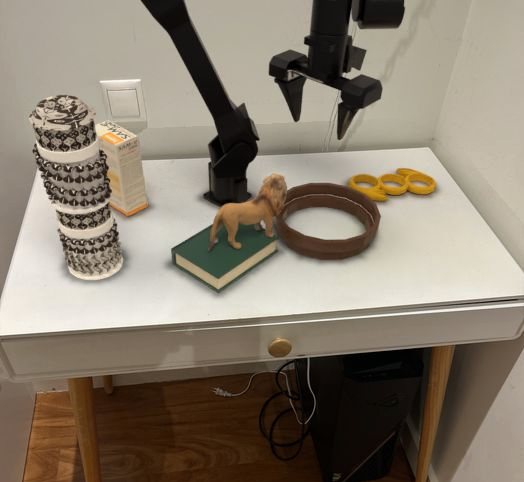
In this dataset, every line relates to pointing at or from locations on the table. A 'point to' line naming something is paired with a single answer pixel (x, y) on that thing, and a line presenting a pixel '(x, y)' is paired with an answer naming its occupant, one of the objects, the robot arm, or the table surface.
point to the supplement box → (123, 167)
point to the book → (223, 255)
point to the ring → (323, 198)
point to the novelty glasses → (403, 179)
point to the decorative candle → (77, 185)
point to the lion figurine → (252, 211)
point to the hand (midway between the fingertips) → (318, 130)
